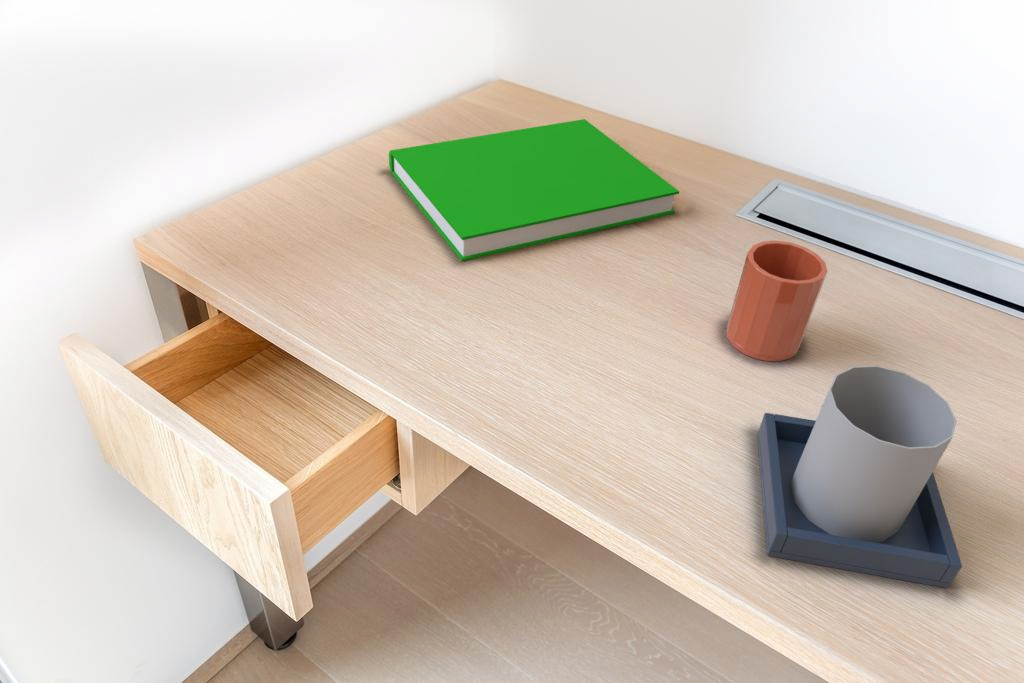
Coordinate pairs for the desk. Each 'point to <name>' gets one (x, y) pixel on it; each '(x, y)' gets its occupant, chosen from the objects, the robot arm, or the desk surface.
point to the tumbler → (775, 300)
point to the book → (528, 187)
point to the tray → (790, 535)
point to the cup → (871, 452)
